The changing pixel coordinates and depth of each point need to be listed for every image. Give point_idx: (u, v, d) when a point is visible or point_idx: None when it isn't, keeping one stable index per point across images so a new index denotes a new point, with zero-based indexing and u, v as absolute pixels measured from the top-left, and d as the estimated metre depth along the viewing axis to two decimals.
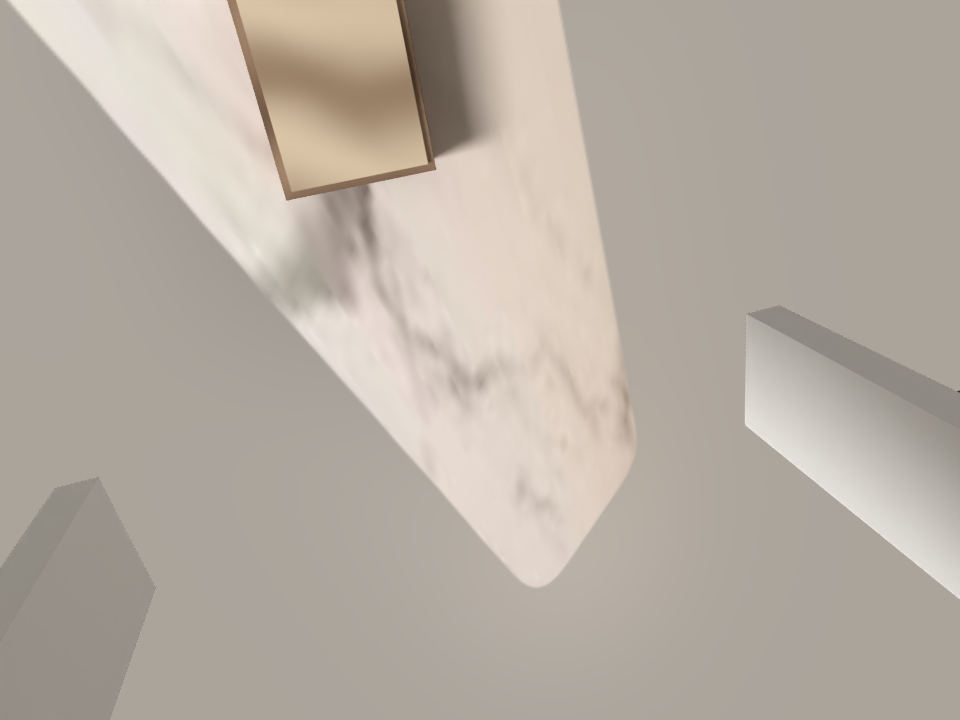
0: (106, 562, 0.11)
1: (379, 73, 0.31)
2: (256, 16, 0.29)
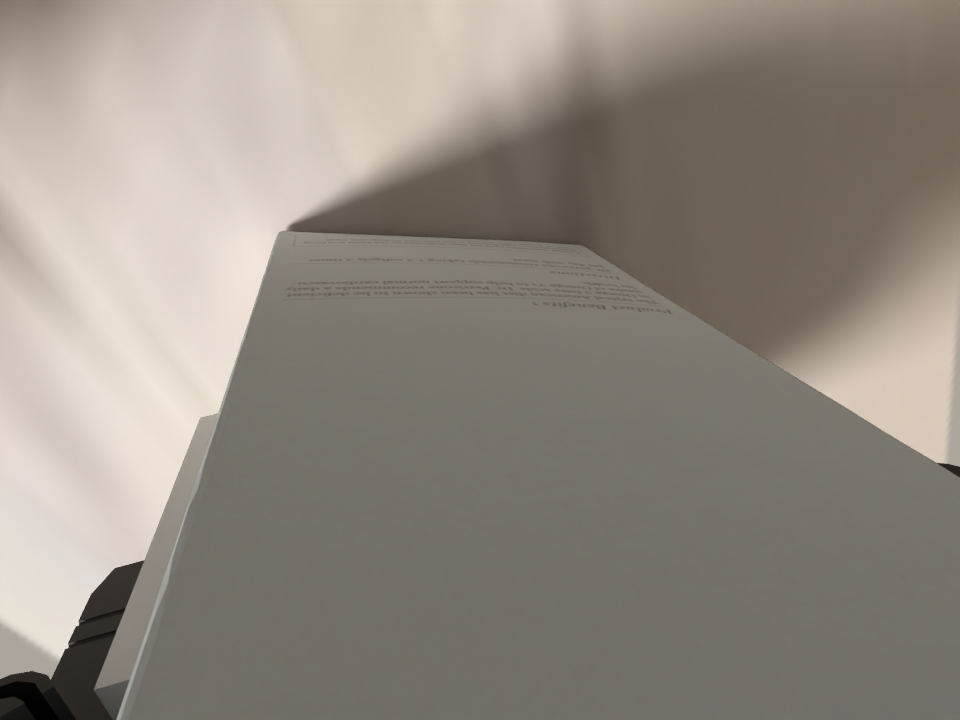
0: None
1: None
2: None
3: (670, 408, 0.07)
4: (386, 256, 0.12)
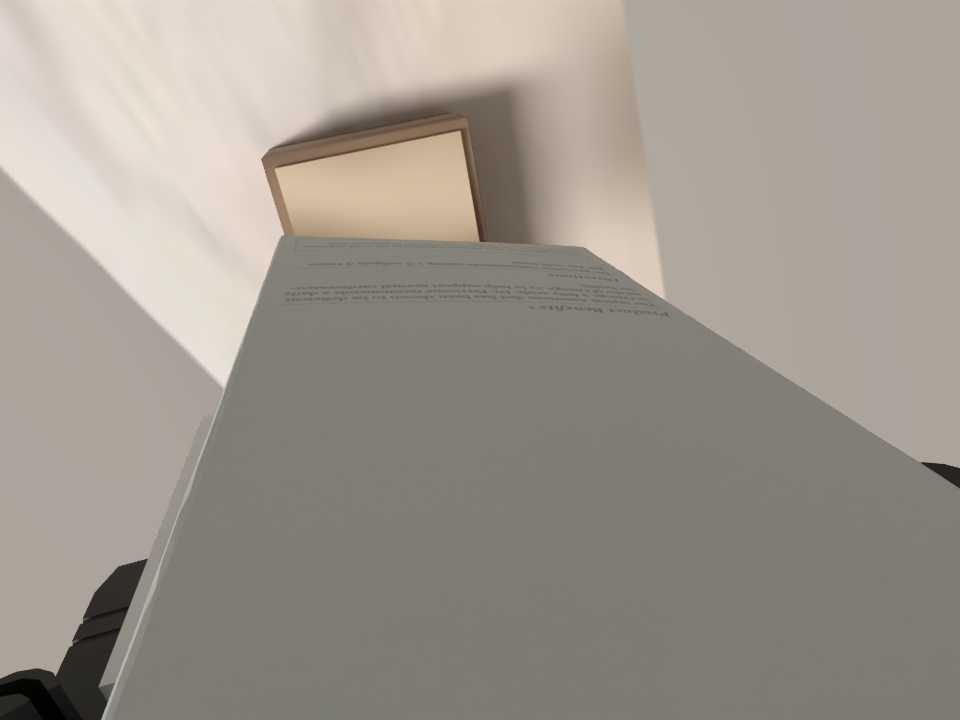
0: None
1: None
2: (302, 198, 0.24)
3: (661, 412, 0.07)
4: (386, 260, 0.12)
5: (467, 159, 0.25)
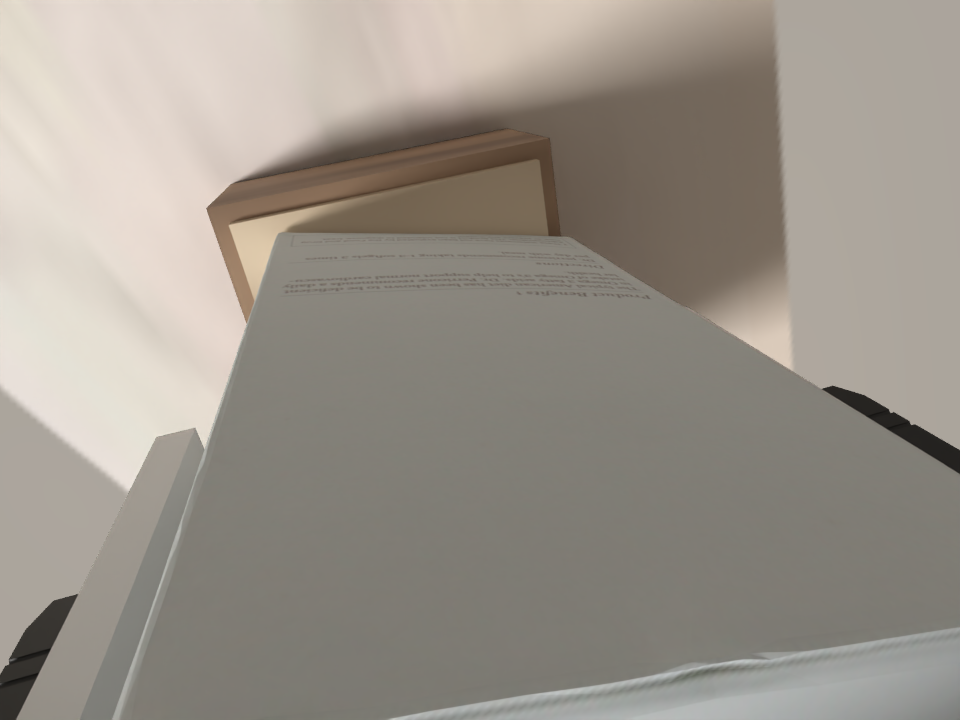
0: None
1: None
2: None
3: (636, 384, 0.07)
4: (379, 253, 0.12)
5: (546, 205, 0.16)
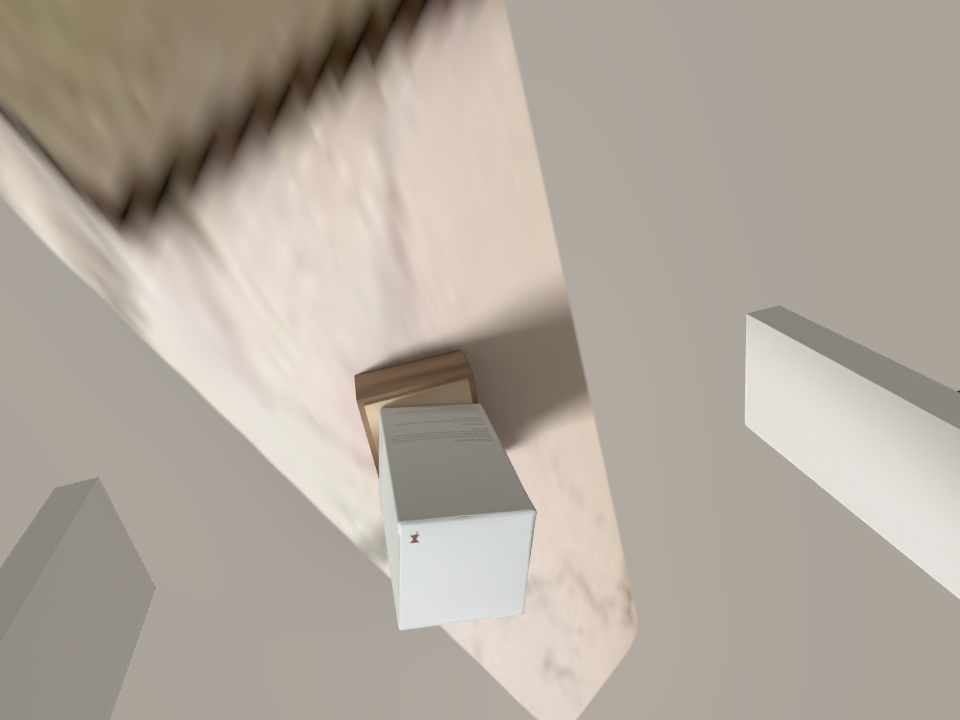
0: (106, 562, 0.11)
1: None
2: (378, 419, 0.43)
3: (473, 472, 0.36)
4: (415, 421, 0.41)
5: (471, 392, 0.44)
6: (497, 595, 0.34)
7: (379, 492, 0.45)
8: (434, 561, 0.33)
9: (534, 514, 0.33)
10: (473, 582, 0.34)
